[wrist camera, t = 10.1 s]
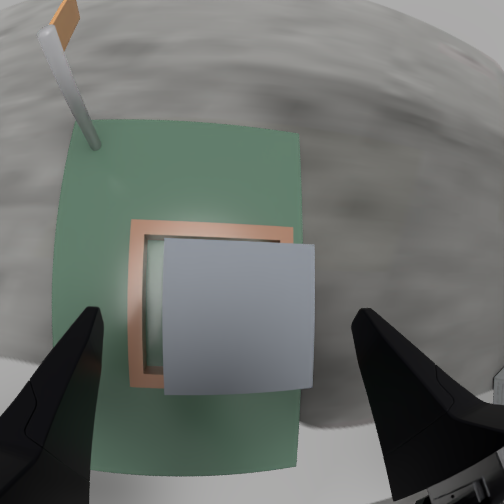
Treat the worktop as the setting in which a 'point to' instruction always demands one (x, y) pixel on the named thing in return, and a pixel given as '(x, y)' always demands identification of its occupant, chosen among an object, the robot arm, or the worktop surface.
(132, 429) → the green base plate
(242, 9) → the worktop surface
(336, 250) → the worktop surface
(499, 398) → the skincare box
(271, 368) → the grey block
